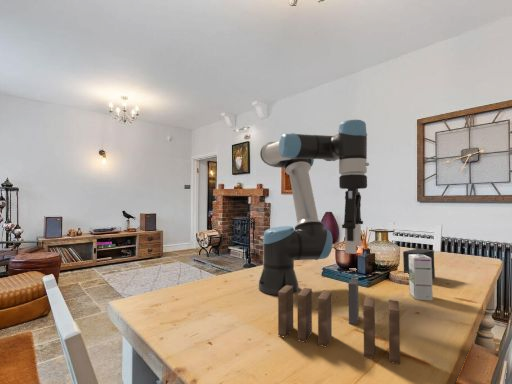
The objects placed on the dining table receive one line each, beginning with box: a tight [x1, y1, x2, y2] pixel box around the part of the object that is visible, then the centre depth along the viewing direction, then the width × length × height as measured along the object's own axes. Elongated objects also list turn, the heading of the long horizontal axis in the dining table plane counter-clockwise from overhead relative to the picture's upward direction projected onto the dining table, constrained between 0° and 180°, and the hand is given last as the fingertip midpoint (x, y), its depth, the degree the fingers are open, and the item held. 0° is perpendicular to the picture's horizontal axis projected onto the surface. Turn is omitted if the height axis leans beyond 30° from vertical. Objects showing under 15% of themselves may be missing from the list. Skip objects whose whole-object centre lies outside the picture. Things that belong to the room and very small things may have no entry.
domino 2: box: [296, 287, 313, 343], centre depth 69 cm, size 2×6×11 cm, turn 154°
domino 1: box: [277, 285, 294, 338], centre depth 71 cm, size 2×6×11 cm, turn 154°
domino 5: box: [363, 296, 376, 359], centre depth 62 cm, size 2×6×11 cm, turn 154°
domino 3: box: [317, 290, 333, 348], centre depth 67 cm, size 2×6×11 cm, turn 154°
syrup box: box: [408, 254, 434, 302], centre depth 96 cm, size 6×6×14 cm
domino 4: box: [347, 278, 360, 326], centre depth 78 cm, size 2×6×11 cm, turn 154°
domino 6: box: [388, 299, 401, 365], centre depth 60 cm, size 2×6×11 cm, turn 154°
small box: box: [402, 248, 436, 279], centre depth 119 cm, size 13×7×12 cm, turn 123°
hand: (353, 249), depth 78 cm, fingers open, 13 cm apart
